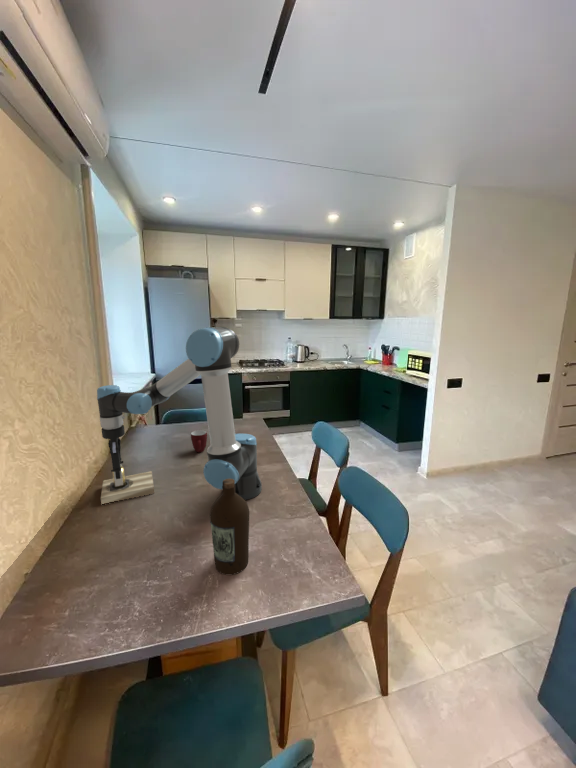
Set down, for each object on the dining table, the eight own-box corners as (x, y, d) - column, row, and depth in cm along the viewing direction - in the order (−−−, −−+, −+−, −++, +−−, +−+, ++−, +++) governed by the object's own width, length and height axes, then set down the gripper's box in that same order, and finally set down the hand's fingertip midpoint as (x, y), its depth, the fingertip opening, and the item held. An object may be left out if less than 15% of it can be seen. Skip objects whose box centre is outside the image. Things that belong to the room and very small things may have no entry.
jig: (154, 493, 123) (153, 486, 122) (101, 505, 115) (100, 497, 114) (152, 477, 135) (151, 471, 134) (104, 487, 127) (103, 480, 127)
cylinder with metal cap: (125, 488, 122) (123, 469, 121) (114, 491, 121) (111, 471, 119) (125, 483, 126) (123, 465, 124) (114, 486, 124) (112, 467, 123)
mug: (209, 454, 158) (208, 436, 156) (193, 457, 155) (191, 438, 153) (206, 446, 168) (205, 429, 166) (191, 449, 165) (190, 431, 163)
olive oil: (225, 544, 95) (222, 469, 90) (257, 554, 91) (255, 475, 86) (204, 570, 85) (199, 487, 80) (238, 582, 81) (235, 495, 76)
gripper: (123, 431, 112) (130, 490, 117) (124, 418, 127) (130, 471, 132) (99, 434, 109) (107, 495, 114) (102, 421, 124) (109, 475, 129)
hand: (119, 482), depth 123 cm, fingers closed on cylinder with metal cap, 4 cm apart
